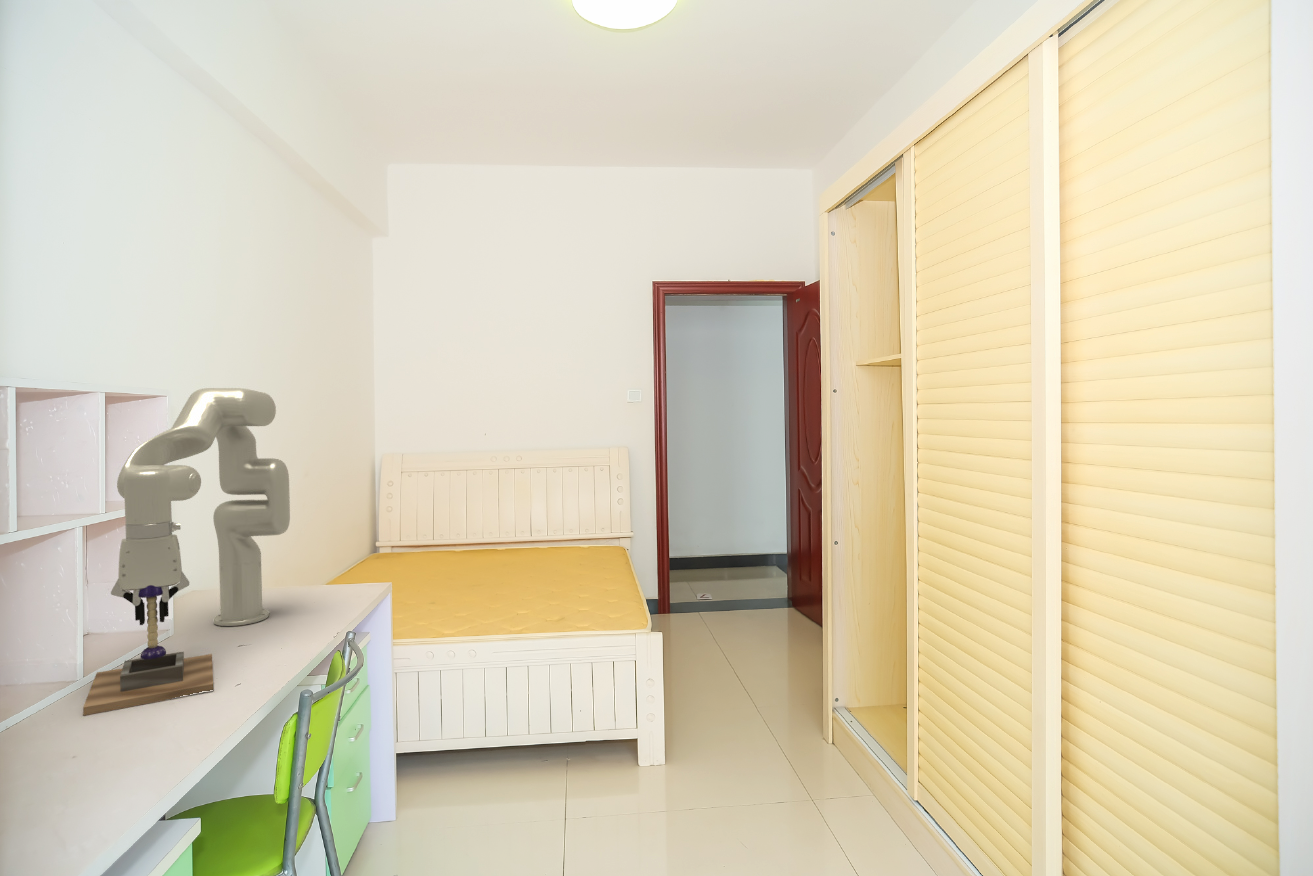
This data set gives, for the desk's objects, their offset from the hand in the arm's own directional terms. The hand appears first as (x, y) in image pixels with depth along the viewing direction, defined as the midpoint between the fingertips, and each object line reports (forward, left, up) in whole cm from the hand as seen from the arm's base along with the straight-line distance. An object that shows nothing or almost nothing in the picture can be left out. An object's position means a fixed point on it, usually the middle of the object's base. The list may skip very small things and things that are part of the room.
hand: (152, 621), depth 141 cm
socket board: (0, 0, -13) cm, 13 cm away
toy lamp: (0, 0, -7) cm, 7 cm away
